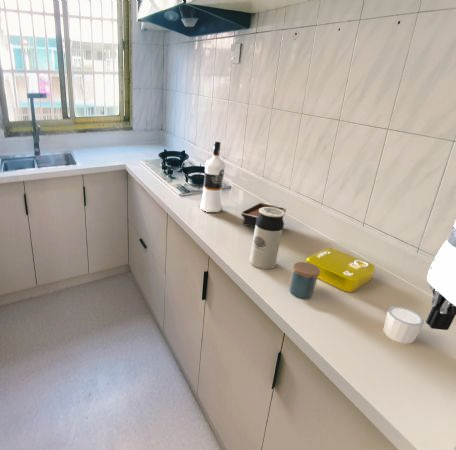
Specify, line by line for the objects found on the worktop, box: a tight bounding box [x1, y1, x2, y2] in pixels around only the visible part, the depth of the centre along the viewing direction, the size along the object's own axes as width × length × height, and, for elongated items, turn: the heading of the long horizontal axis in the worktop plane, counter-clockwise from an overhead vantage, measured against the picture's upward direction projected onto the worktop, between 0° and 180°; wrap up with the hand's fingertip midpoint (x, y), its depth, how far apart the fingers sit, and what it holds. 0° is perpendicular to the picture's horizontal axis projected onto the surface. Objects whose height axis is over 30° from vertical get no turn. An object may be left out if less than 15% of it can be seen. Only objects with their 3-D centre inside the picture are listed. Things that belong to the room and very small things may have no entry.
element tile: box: [305, 247, 376, 293], centre depth 103 cm, size 15×15×5 cm
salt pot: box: [289, 261, 320, 300], centre depth 92 cm, size 7×7×8 cm
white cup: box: [382, 306, 425, 345], centre depth 77 cm, size 7×7×7 cm
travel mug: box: [249, 207, 286, 270], centre depth 105 cm, size 8×8×18 cm
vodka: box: [199, 141, 226, 213], centre depth 145 cm, size 9×9×30 cm
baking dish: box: [240, 202, 287, 229], centre depth 134 cm, size 14×18×10 cm
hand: (436, 326), depth 66 cm, fingers closed
